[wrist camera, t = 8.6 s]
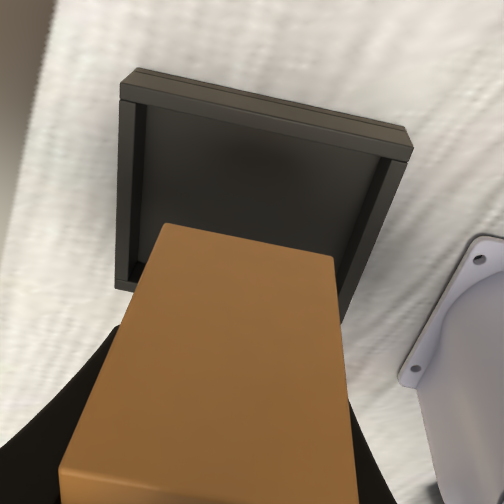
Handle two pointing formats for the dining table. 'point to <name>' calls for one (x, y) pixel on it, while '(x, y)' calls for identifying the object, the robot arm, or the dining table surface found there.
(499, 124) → the dining table surface
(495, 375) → the robot arm
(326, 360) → the packet
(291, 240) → the tray
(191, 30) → the dining table surface
